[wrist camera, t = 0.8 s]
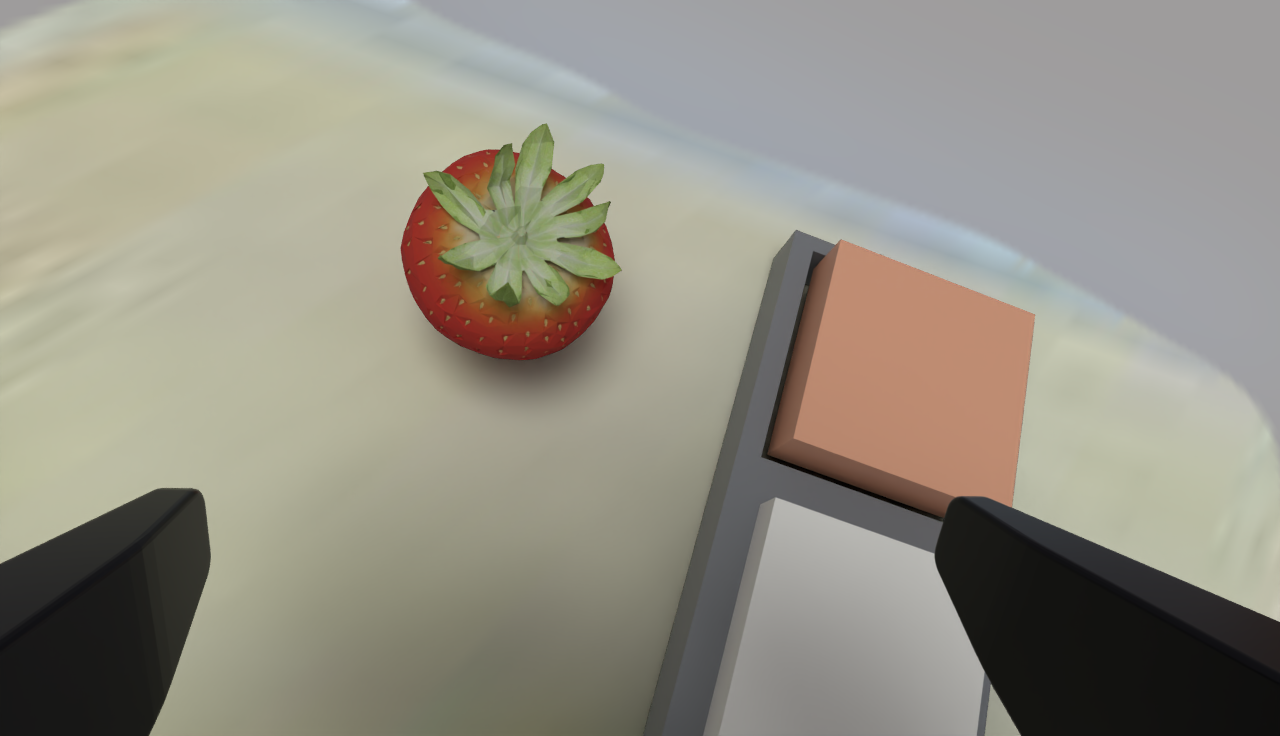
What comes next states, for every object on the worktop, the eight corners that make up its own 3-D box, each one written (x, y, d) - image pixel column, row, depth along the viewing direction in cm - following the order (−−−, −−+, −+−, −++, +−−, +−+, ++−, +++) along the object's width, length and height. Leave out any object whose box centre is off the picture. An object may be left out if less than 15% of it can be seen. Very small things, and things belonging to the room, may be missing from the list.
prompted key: (967, 526, 23) (1010, 516, 21) (767, 454, 22) (793, 438, 20) (993, 338, 25) (1035, 314, 23) (813, 269, 25) (840, 239, 23)
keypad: (881, 1154, 19) (958, 1253, 16) (553, 1060, 18) (568, 1145, 15) (996, 343, 27) (1060, 307, 24) (773, 258, 26) (811, 210, 23)
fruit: (483, 439, 22) (486, 343, 15) (380, 297, 23) (334, 138, 16) (621, 347, 24) (685, 220, 17) (521, 217, 25) (540, 41, 17)
